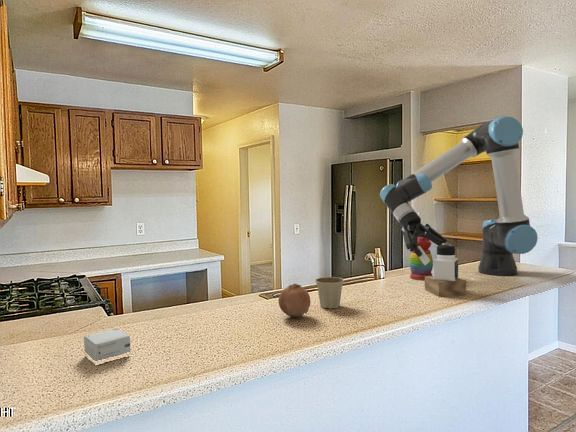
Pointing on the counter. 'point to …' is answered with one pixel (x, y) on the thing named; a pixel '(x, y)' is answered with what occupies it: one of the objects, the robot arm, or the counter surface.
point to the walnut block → (445, 287)
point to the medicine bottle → (446, 263)
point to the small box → (106, 344)
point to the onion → (294, 301)
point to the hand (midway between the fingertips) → (440, 260)
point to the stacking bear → (417, 265)
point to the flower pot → (329, 291)
